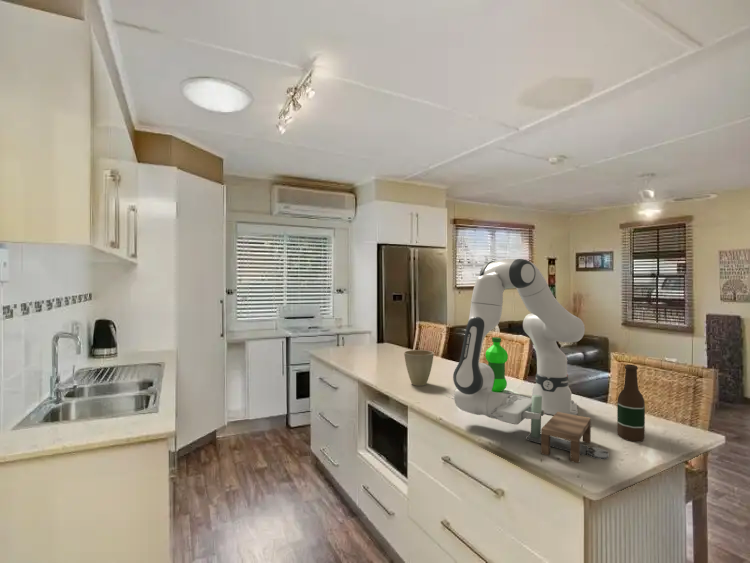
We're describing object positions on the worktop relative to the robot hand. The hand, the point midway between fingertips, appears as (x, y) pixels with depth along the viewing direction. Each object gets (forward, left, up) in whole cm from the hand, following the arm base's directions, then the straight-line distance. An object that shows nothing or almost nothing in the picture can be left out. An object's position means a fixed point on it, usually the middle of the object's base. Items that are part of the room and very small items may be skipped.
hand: (542, 414), depth 127 cm
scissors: (-24, -40, -9) cm, 47 cm away
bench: (0, +7, -9) cm, 11 cm away
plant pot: (-37, -69, -9) cm, 78 cm away
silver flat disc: (0, +16, -9) cm, 18 cm away
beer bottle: (-22, +22, -9) cm, 33 cm away
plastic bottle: (-50, -34, -9) cm, 61 cm away
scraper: (0, +5, -8) cm, 9 cm away
